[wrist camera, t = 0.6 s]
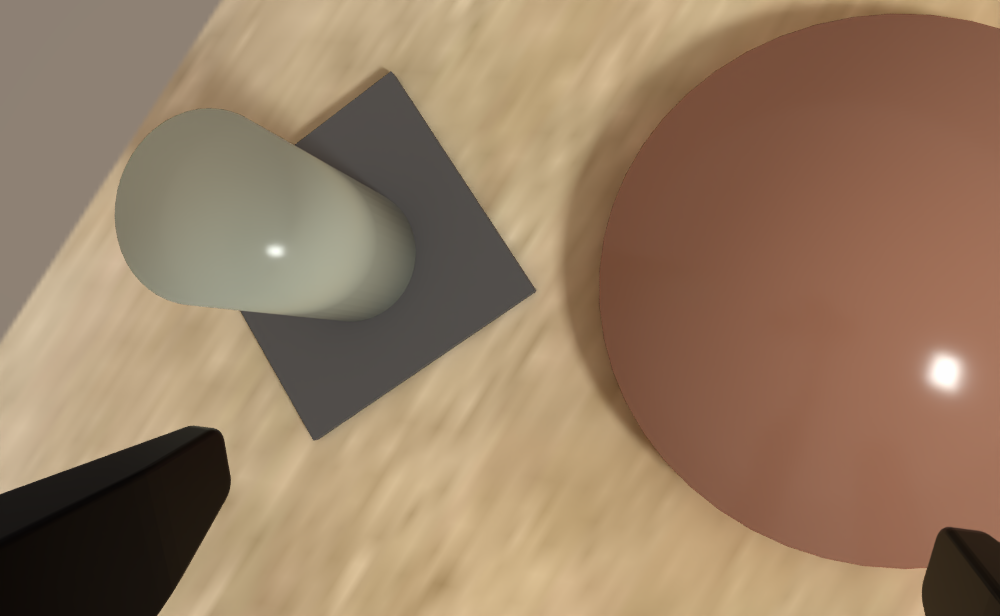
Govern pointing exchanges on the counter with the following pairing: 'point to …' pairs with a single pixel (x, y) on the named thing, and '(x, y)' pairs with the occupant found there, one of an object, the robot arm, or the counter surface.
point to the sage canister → (257, 224)
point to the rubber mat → (435, 279)
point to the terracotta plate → (823, 287)
